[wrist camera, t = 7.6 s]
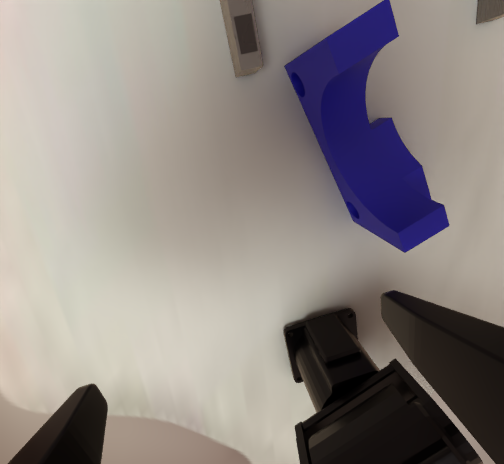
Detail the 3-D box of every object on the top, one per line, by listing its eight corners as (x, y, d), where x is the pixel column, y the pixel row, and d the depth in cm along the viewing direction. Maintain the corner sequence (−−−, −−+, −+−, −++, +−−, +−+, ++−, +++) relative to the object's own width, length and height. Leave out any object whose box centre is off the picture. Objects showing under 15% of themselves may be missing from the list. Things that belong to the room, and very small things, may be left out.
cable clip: (401, 189, 21) (471, 212, 16) (352, 220, 22) (404, 252, 16) (346, 25, 17) (420, -24, 11) (283, 66, 17) (325, 37, 11)
